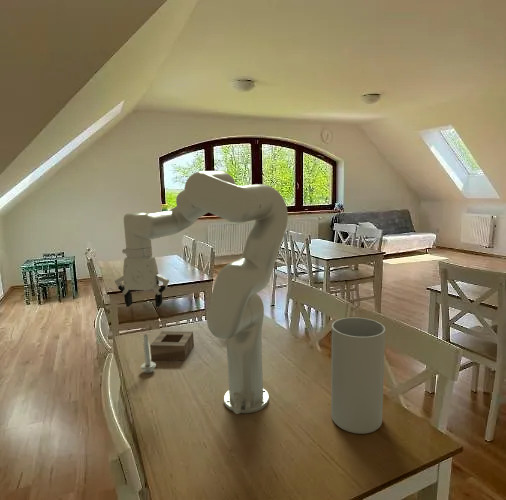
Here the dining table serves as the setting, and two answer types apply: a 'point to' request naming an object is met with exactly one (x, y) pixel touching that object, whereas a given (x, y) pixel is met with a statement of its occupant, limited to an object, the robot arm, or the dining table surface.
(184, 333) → the socket block
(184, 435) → the dining table surface
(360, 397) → the cylinder vase
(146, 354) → the screw
